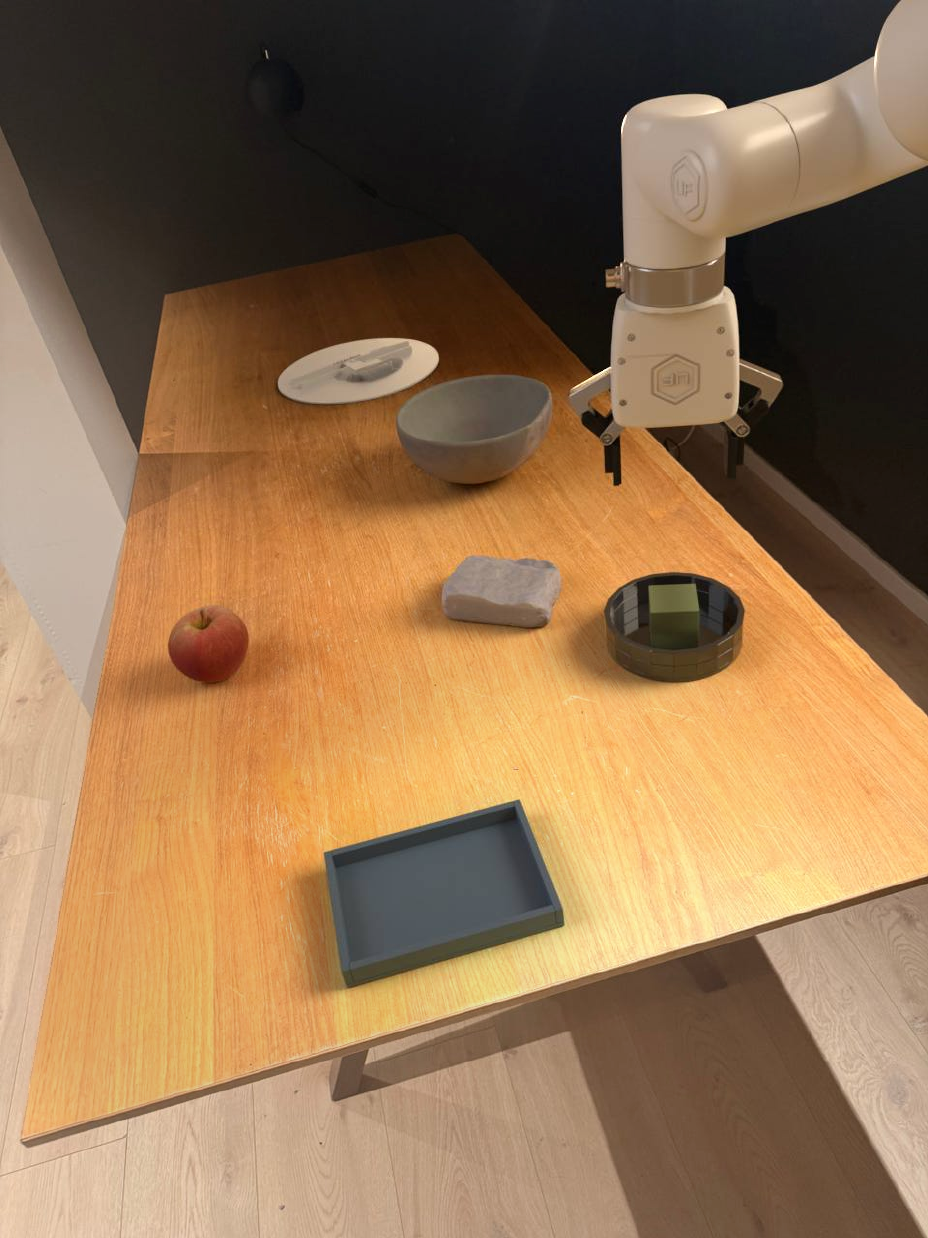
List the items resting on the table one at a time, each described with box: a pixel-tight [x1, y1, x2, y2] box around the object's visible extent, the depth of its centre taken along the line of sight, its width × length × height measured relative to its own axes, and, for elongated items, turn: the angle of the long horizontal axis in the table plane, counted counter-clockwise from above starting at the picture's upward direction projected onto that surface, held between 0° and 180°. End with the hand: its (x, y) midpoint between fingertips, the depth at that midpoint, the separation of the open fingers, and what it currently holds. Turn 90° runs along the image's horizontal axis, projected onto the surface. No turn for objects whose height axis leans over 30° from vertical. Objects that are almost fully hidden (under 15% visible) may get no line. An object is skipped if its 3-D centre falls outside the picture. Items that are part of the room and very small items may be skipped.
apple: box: [167, 604, 250, 684], centre depth 97 cm, size 8×8×8 cm
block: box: [648, 584, 699, 649], centre depth 92 cm, size 4×4×4 cm
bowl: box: [395, 374, 553, 485], centre depth 125 cm, size 20×20×10 cm
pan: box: [603, 571, 746, 683], centre depth 93 cm, size 13×13×4 cm
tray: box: [323, 798, 565, 989], centre depth 72 cm, size 16×11×2 cm
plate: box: [277, 337, 440, 405], centre depth 163 cm, size 28×28×1 cm
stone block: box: [441, 554, 563, 628], centre depth 102 cm, size 12×5×10 cm
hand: (672, 475), depth 83 cm, fingers open, 9 cm apart
